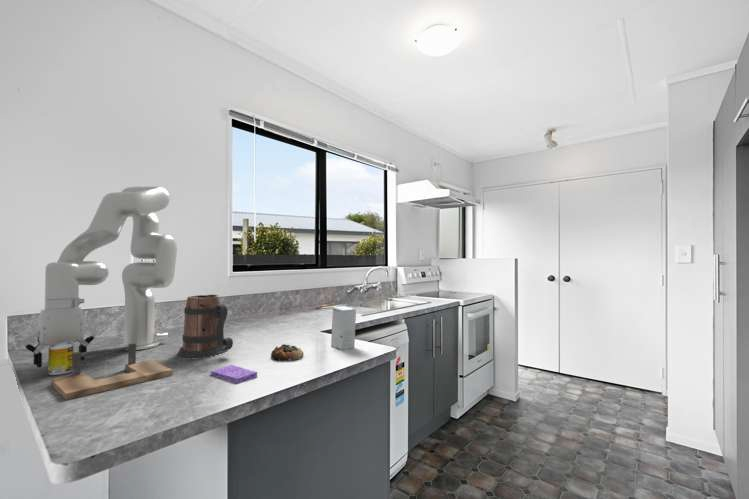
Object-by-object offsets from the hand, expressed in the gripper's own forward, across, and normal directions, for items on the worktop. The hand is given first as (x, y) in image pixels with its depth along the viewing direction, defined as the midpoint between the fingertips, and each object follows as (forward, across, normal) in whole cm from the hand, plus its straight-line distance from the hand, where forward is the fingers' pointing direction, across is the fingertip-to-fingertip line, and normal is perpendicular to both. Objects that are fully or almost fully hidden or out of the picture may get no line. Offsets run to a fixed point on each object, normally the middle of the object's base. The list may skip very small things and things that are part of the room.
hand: (60, 362), depth 108 cm
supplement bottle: (+3, 0, 0) cm, 3 cm away
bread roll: (+3, -53, +37) cm, 65 cm away
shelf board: (+3, -8, +19) cm, 21 cm away
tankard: (+3, -38, +12) cm, 40 cm away
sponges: (+4, -31, +41) cm, 52 cm away
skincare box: (+3, -75, +42) cm, 86 cm away
